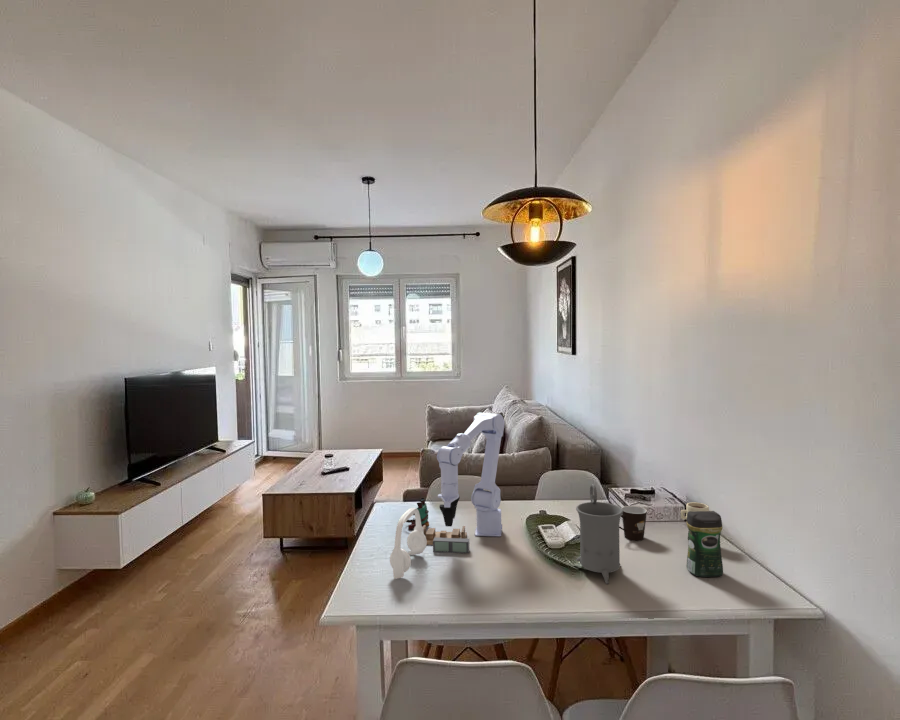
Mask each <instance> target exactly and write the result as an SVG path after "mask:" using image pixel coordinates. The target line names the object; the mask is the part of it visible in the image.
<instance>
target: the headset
mask: <svg viewBox="0 0 900 720" xmlns="http://www.w3.org/2000/svg"><path fill="white" fill-rule="evenodd" d="M416 508H417V507H410V508H409V509H407V510H406V511H405V512H404V513H403V514H402V515H401V516H400V517H399V520H398V522H397V525H396V530H395V536H394V547H393V549H392V551H391V553H390V556H389V563H390V566H391V568H392V574H393V579H394V580H396V579H397V580H398V579H401V578H403V577H404V575H405V573H407V572H408V570H409V569H410V568H411V565H412V558H411V556H414V555H420V554H423V553H424V551H425V549H426V548H427V540H426V537H425V535H424V529H423V527H422V525H421V519H420V514H419V511H418V509H416ZM413 514H415V515H413ZM412 516H414V518H415V521H416V526H415V527H414V528H413V530H412V531H410V532H409V534H408V535H407V540H406V544H407V547H408V549H409V550H408V551H407V550H406V549H403V548H402V547H401V544H402V543H401V542H402V541H401V540H402V532H403V527H404V524H405V523H407V522H406V521H407V520H410V518H411V517H412Z"/></svg>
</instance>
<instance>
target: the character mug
mask: <svg viewBox="0 0 900 720" xmlns="http://www.w3.org/2000/svg"><path fill="white" fill-rule="evenodd" d="M685 508H686V509H681V510H680V519H681V520H686V521H687V513H688V512H689V511H710V508H709V505H707V504H705V503H701V502H695V501H693V502H692V501H691V502H688V503H686V506H685ZM684 514H685V515H684ZM687 540H688V541H689V530H688V533H687Z"/></svg>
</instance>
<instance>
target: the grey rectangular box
mask: <svg viewBox="0 0 900 720" xmlns="http://www.w3.org/2000/svg"><path fill="white" fill-rule="evenodd" d="M432 552H433V553H451V554H452V553H453V554H458V553H459V554H469V553H470V538H466V539H463V538H437V537H434V540H433V545H432Z"/></svg>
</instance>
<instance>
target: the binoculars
mask: <svg viewBox="0 0 900 720" xmlns="http://www.w3.org/2000/svg"><path fill="white" fill-rule="evenodd" d="M416 505H417V507H415V508H416V509H418V511H419V514H420V519H421V525H422V527H423V525H426V527H428V526H429V525H430V522H429V521H428V520H429V510H428V506H427V503H426V498H425V497H420V498H419V502H416ZM412 516H415V514H413V515H412ZM405 523H411V524H408V525H407V526H408V527H407V528H408V530H412V529H413V530H414V527H415V526H416V521H415V517H413V519H408V520H407V521H406V522H405Z"/></svg>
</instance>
